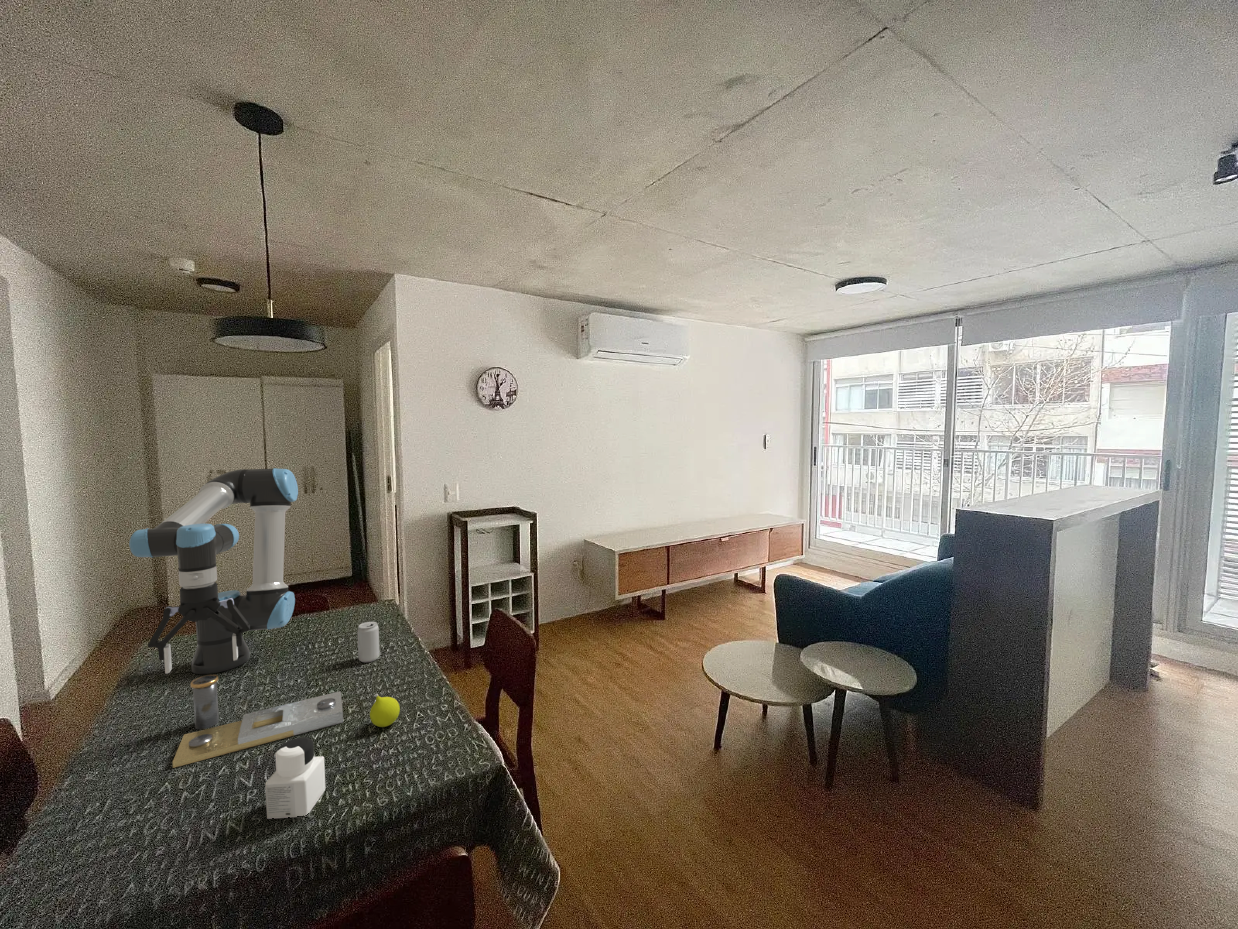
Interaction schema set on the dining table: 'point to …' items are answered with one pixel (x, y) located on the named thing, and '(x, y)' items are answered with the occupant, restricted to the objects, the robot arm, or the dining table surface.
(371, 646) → the beverage can
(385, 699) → the lemon
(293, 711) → the link
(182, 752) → the link
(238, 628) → the robot arm
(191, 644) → the dining table surface
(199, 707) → the pin
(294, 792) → the container
